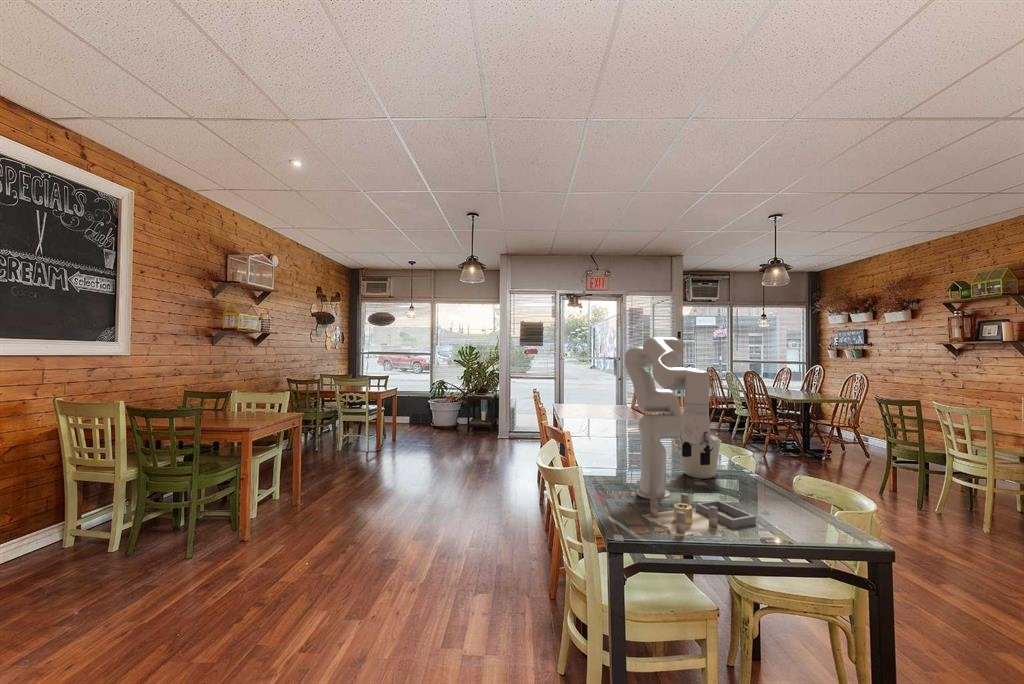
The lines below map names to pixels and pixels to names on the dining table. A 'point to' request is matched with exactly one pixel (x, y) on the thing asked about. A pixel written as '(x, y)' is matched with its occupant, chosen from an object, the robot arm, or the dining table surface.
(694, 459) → the canister
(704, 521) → the spacer board
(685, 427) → the robot arm
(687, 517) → the tan faceted piece
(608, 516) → the dining table surface
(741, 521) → the tray
